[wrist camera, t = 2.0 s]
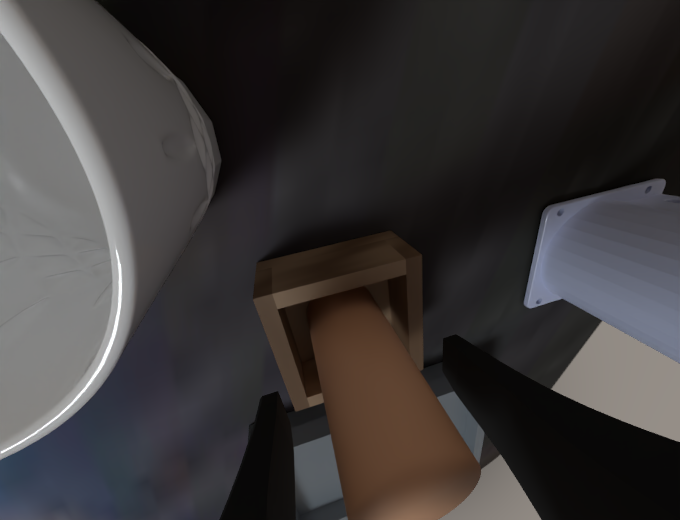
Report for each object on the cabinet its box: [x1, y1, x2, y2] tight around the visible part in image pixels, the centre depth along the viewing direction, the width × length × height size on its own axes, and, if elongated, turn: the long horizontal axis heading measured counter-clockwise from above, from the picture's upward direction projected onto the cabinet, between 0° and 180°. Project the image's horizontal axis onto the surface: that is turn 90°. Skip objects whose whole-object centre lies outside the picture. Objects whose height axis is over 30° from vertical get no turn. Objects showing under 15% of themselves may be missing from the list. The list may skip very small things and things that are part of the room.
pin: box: [307, 286, 481, 520], centre depth 11 cm, size 4×4×9 cm
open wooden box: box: [253, 230, 423, 412], centre depth 15 cm, size 8×8×4 cm
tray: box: [248, 362, 484, 520], centre depth 22 cm, size 18×13×2 cm
